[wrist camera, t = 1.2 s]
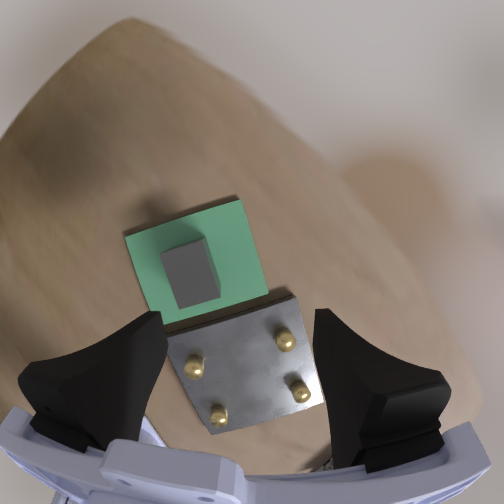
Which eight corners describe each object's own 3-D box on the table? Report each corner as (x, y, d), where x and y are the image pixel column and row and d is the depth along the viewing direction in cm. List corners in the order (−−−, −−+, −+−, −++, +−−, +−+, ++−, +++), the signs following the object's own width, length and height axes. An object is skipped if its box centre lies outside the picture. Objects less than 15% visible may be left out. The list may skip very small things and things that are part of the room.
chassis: (211, 429, 24) (210, 444, 22) (162, 335, 23) (157, 347, 20) (320, 396, 25) (328, 410, 23) (293, 294, 23) (301, 302, 21)
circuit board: (159, 322, 23) (145, 346, 18) (128, 236, 22) (105, 241, 17) (266, 290, 24) (278, 308, 19) (240, 200, 23) (244, 194, 18)
